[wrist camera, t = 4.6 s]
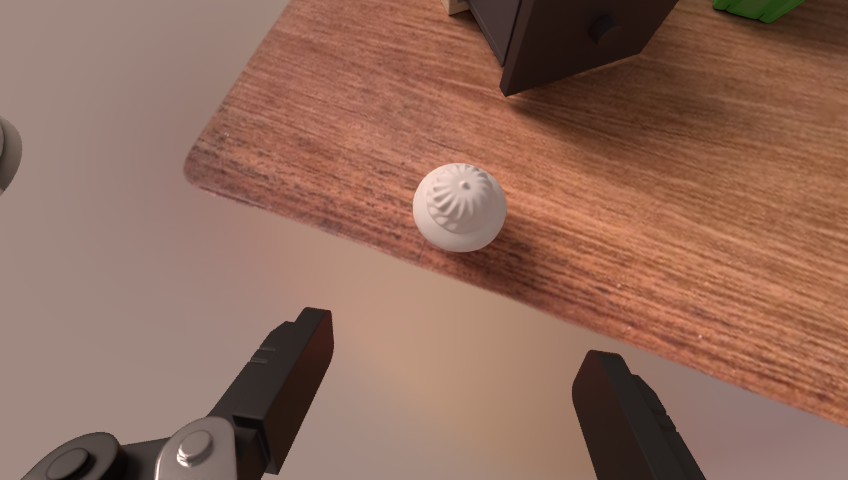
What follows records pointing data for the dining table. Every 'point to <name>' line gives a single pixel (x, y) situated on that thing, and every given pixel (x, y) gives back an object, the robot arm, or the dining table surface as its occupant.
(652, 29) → the pulled-out nightstand drawer
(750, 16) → the fruit basket
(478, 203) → the muffin
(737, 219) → the dining table surface
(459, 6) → the cabinet
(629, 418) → the robot arm
